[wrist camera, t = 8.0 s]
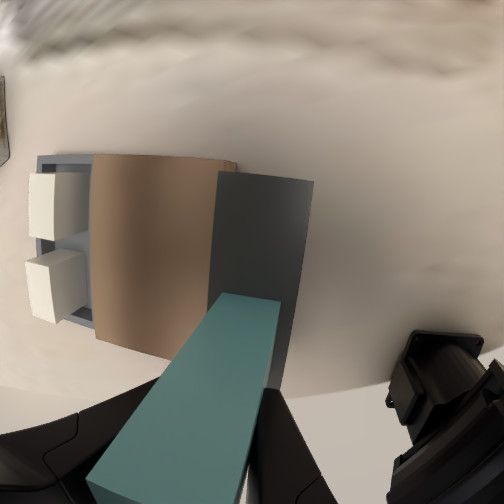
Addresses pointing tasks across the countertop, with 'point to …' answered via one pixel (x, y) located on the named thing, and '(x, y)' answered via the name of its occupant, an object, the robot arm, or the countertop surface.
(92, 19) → the countertop surface
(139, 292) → the walnut board
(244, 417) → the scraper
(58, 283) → the tile
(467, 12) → the countertop surface
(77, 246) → the box
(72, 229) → the tile
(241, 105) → the countertop surface
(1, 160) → the coffee box
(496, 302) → the countertop surface
